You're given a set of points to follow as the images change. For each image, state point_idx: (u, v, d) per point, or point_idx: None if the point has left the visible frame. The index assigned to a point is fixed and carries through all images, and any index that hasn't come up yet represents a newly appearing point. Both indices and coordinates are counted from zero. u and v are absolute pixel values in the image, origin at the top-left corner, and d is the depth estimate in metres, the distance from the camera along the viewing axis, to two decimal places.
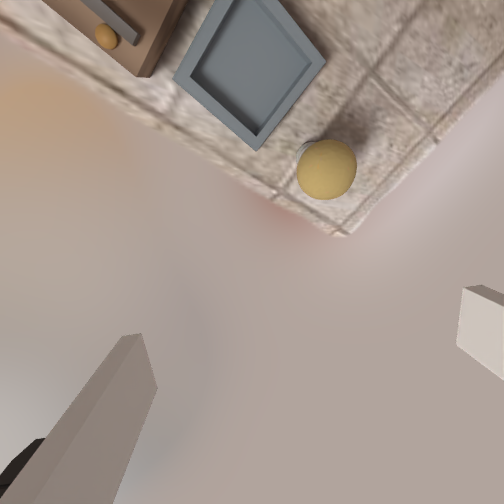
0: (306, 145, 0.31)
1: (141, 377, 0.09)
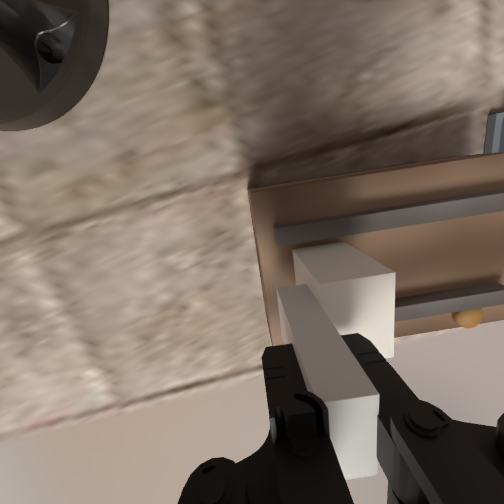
0: None
1: None
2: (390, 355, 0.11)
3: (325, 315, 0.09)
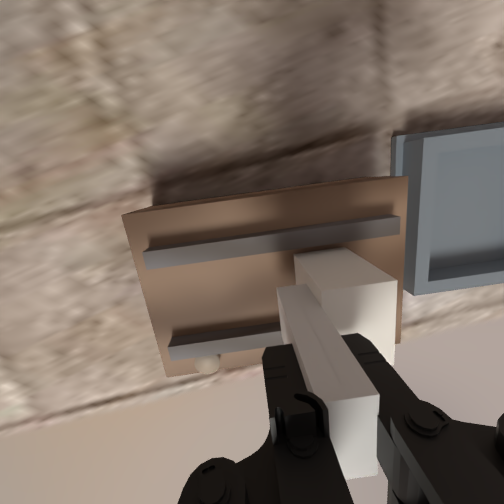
0: None
1: None
2: (390, 363, 0.11)
3: (325, 315, 0.09)
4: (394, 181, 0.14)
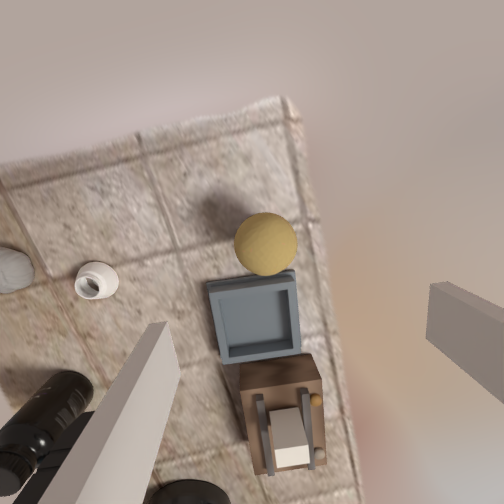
0: None
1: (168, 362, 0.10)
2: (307, 445, 0.29)
3: None
4: (242, 395, 0.33)
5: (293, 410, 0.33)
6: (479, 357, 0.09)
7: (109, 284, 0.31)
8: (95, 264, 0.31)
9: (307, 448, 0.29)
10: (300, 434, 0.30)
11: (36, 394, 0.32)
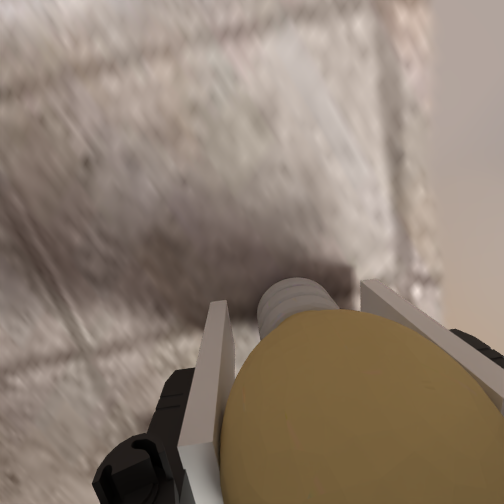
0: None
1: (230, 335, 0.11)
2: None
3: (419, 310, 0.09)
4: None
5: None
6: None
7: None
8: None
9: None
10: None
11: None
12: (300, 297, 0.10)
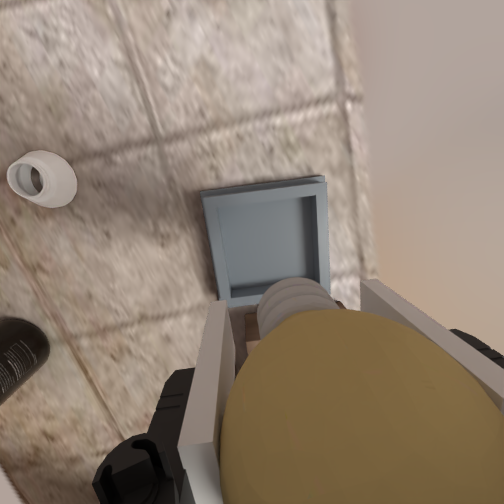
0: None
1: (230, 335, 0.11)
2: None
3: (419, 310, 0.09)
4: (249, 348, 0.24)
5: None
6: None
7: (61, 181, 0.22)
8: (41, 152, 0.22)
9: None
10: None
11: None
12: (300, 297, 0.10)
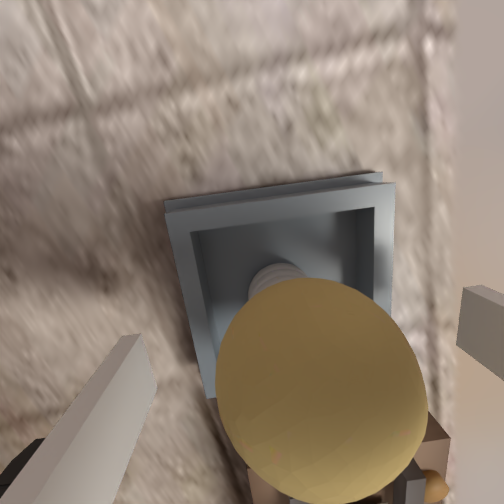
0: None
1: (141, 377, 0.09)
2: None
3: None
4: (252, 478, 0.13)
5: None
6: None
7: None
8: None
9: None
10: None
11: None
12: (282, 276, 0.12)
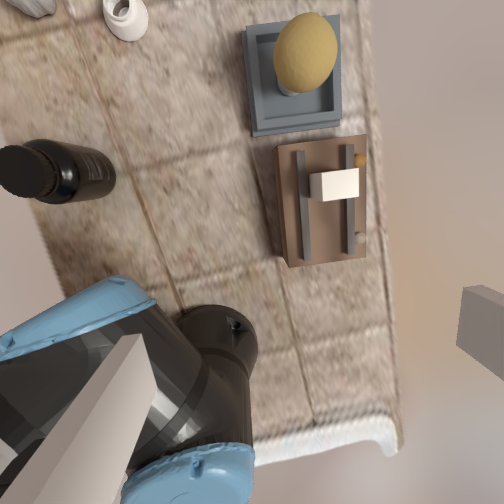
0: (289, 93, 0.31)
1: (141, 377, 0.09)
2: (357, 169, 0.26)
3: None
4: (280, 152, 0.30)
5: None
6: None
7: (139, 11, 0.29)
8: None
9: (357, 173, 0.26)
10: (347, 169, 0.27)
11: None
12: None
